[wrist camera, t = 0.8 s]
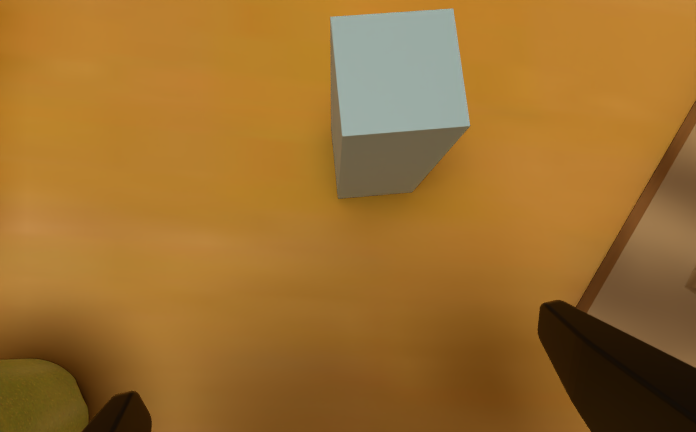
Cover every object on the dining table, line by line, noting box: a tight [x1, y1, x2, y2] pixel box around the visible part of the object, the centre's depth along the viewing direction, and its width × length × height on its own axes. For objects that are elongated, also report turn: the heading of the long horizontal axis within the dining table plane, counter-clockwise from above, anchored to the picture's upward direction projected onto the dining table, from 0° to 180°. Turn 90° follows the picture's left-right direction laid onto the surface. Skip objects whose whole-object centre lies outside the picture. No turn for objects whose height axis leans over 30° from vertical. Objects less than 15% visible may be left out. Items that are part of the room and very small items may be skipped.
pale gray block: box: [330, 9, 470, 199], centre depth 19 cm, size 4×4×10 cm
